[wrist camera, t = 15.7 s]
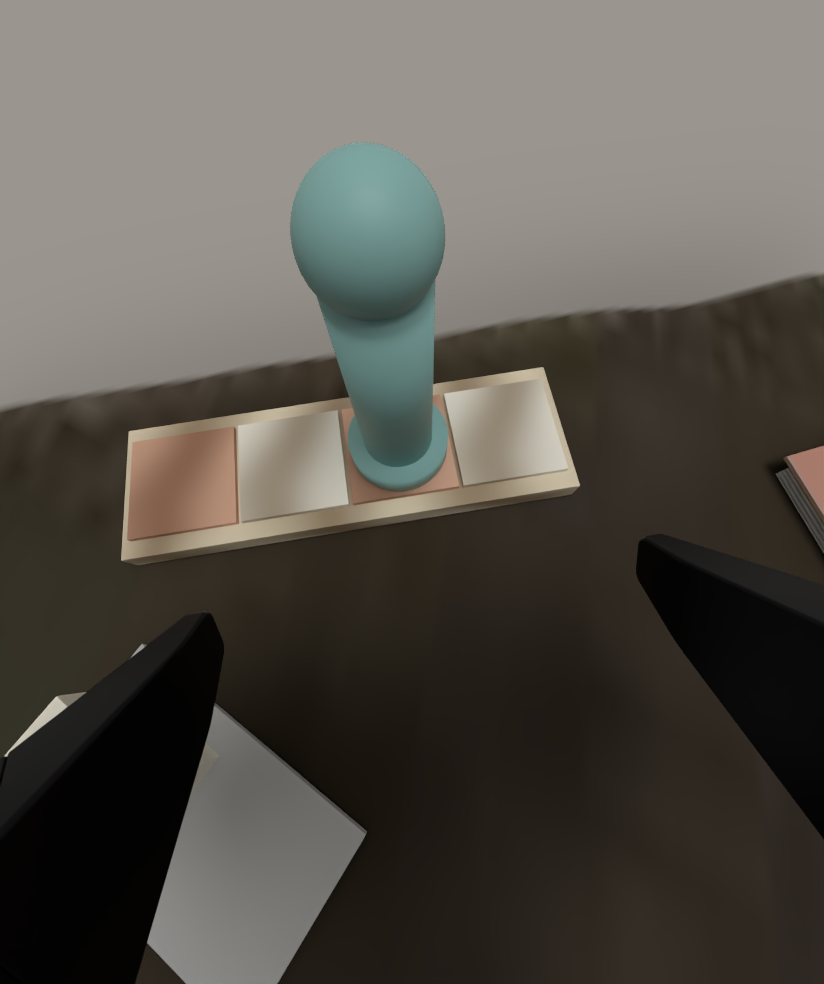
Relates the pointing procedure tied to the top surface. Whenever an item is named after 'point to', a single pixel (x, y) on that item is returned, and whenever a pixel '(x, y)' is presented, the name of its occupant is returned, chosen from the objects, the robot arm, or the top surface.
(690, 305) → the top surface
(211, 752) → the die
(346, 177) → the pawn
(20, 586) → the top surface
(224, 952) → the mat
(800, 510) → the notebook
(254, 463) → the board
